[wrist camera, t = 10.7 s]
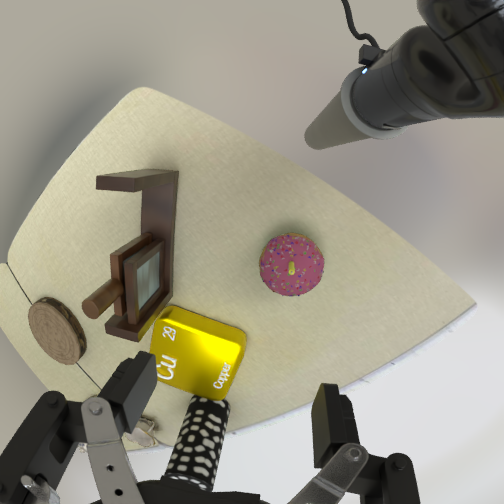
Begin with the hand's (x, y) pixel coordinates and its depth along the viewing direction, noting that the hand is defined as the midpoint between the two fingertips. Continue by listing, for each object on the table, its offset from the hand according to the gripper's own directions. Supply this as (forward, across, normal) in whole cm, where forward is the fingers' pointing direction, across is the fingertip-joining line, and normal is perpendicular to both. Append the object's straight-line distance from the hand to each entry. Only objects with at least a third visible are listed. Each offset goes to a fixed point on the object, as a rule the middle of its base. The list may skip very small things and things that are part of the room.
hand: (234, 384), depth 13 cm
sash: (+28, +17, +7) cm, 33 cm away
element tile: (+30, +9, +23) cm, 39 cm away
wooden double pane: (+30, +16, +3) cm, 34 cm away
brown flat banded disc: (+30, +42, +28) cm, 59 cm away
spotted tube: (+30, +6, +38) cm, 49 cm away
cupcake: (+30, -4, +3) cm, 31 cm away
